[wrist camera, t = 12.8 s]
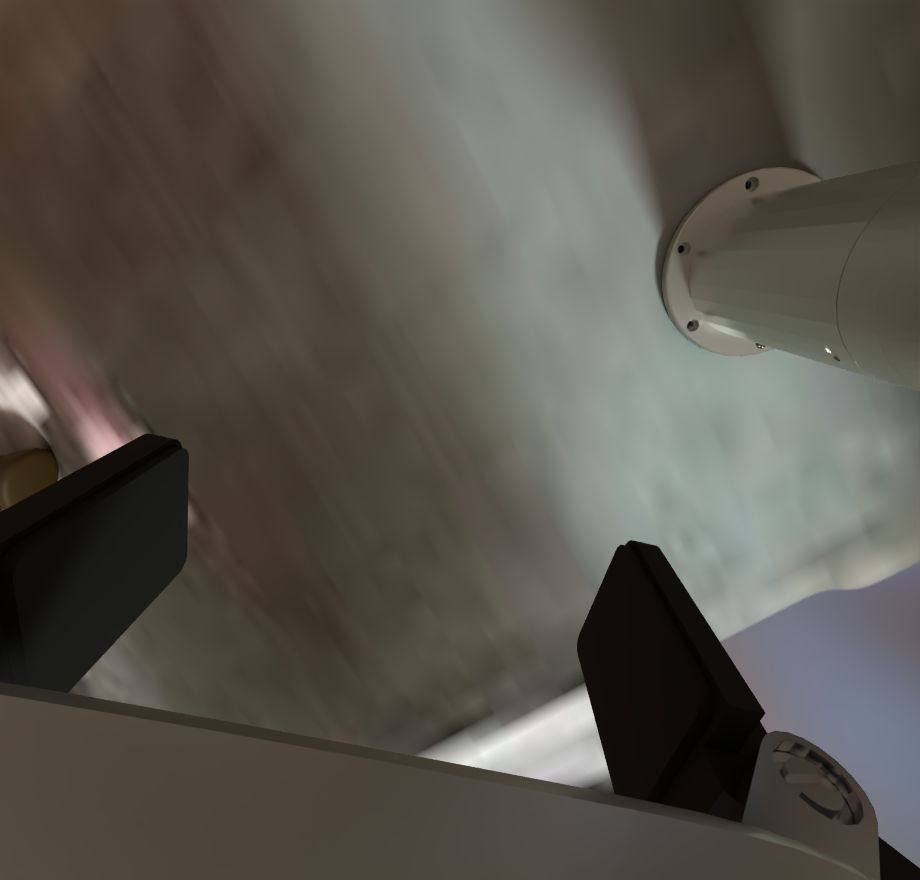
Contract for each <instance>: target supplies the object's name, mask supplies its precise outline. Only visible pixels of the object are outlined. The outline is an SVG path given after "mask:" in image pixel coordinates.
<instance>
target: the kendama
mask: <svg viewBox="0 0 920 880" xmlns="http://www.w3.org/2000/svg"><path fill="white" fill-rule="evenodd" d="M57 481H58V465H57V461H56V457H55V456H54V455H53V454H52V453H51V452H50V451H49V450H47V449H39V448H32V449H28V450H25V451H21V452H18V453H14V454H10V455H6V456H0V506H1V507H3V508H4V509H7V508H9V507H11V506H12V505H14V504H16V503H18V502H20V501H22V500H23V499H25V498H27V497H29V496H31V495H33V494H35V493H36V492H38V491H40V490H42V489H44V488H46V487H48V486H49V485H51V484H53V483H55V482H57ZM1 507H0V512H1V511H2V509H1Z"/></svg>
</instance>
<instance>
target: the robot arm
mask: <svg viewBox="0 0 920 880" xmlns="http://www.w3.org/2000/svg"><path fill="white" fill-rule="evenodd" d="M746 182H747V183H748V188H747V189H746V187H745V185H746ZM679 246H682V251H681V252H680V253H678V247H679ZM662 291H663V298H664V303H665V306H666V309H667V312H668V315H669V317H670V319H671V320H672V322H673V323H674V325H675V327H676V328H677V330H678V331H679V332H680V333H681V334H682V335H683V336H684V337H685V338H686V339H687V340H689V341H691V342H692V343H694V344H695V345H697V346H698V347H701V348H703V349H706V350H708V351H710V352H714V353H718V354H722V355H726V356H747V355H754V354H759V353H762V352H765V351H769V350H772V349H778V350H782V351H785V352H788V353H792V354H795V355H798V356H802V357H805V358H808V359H811V360H815V361H818V362H821V363H825V364H828V365H831V366H835V367H838V368H841V369H845V370H848V371H851V372H854V373H858V374H861V375H864V376H868V377H871V378H874V379H878V380H881V381H884V382H888V383H891V384H895V385H899V386H902V387H906V388H909V389H913V390H917V391H920V160H916V161H912V162H907V163H902V164H898V165H893V166H889V167H884V168H879V169H875V170H870V171H866V172H861V173H856V174H852V175H847V176H843V177H838V178H833V179H829V180H824V181H822V180H821V179H820V178H818V177H817V176H815V175H813V174H810V173H808V172H805V171H803V170H800V169H794V168H788V167H773V168H763V169H759V170H755V171H751V172H748V173H745V174H742V175H739V176H737V177H734V178H731V179H729V180H728V181H726V182H724V183H723V184H721V185H719V186H717V187H716V188H714V189H713V190H711V191H710V192H709V193H708V194H707V195H705V196H704V197H703V198H702V199H701V200H699V201H698V202H697V203H696V205H695V206H694V207H693V208H692V209H691V210H690V211H689V213H688V214H687V215H686V216H685V217H684V219H683V220H682V222H681V224H680V225H679V227H678V228H677V230H676V232H675V233H674V236H673V238H672V240H671V243H670V245H669V247H668V250H667V253H666V257H665V261H664V266H663V274H662ZM689 321H690V322H691V325H690V326H689V327H687V324H688V322H689ZM188 471H189V455H188V451H187V450H186V449H184V448H182V446H181V443H180V442H179V441H178V440H176V439H171V438H167V437H162V436H158V435H153V434H144V435H142V436H140V437H138V438H137V439H135V440H133V441H131V442H129V443H127V444H125V445H124V446H122V447H120V448H118V449H116V450H114V451H112V452H111V453H109V454H107V455H105V456H103V457H101V458H99V459H98V460H96V461H94V462H92V463H90V464H88V465H86V466H85V467H83V468H81V469H79V470H77V471H75V472H74V473H72V474H70V475H68V476H66V477H64V478H62V479H61V480H59V481H57V482H55V483H53V484H51V485H49V486H48V487H46V488H44V489H42V490H40V491H38V492H36V493H35V494H33V495H31V496H29V497H27V498H25V499H23V500H22V501H20V502H18V503H16V504H14V505H12V506H11V507H9V508H7V509H5V510H3V511H1V512H0V880H920V868H919V867H917V866H916V865H915V864H913V863H912V862H911V861H910V860H908V859H907V858H906V857H904V856H903V855H902V854H900V853H899V852H898V851H897V850H895V849H894V848H893V847H891V846H890V845H889V844H887V843H886V842H885V841H884V840H882V839H881V838H880V837H878V822H877V819H876V814H875V811H874V808H873V806H872V804H871V803H870V801H869V799H868V797H867V795H866V793H865V792H864V791H863V789H862V788H861V787H860V785H859V784H858V783H857V782H856V781H855V779H854V778H853V777H852V775H850V774H849V773H848V772H847V771H846V770H845V769H844V768H843V767H842V766H841V765H840V764H839V763H838V762H837V761H836V760H835V759H833V758H832V757H831V756H829V755H828V754H827V753H826V752H824V751H823V750H822V749H820V748H819V747H817V746H816V745H814V744H812V743H810V742H809V741H807V740H805V739H803V738H801V737H799V736H796V735H793V734H791V733H788V732H780V731H774V732H771V733H767V732H766V730H765V729H764V727H763V726H762V724H761V722H760V720H761V718H762V717H763V716H764V714H765V712H764V710H763V709H762V707H761V706H760V704H759V702H758V701H757V699H756V698H755V696H754V695H753V693H752V691H751V690H750V688H749V687H748V685H747V684H746V682H745V680H744V679H743V677H742V676H741V675H740V673H739V671H738V670H737V668H736V666H735V665H734V663H733V662H732V660H731V659H730V657H729V656H728V654H727V653H726V651H725V649H724V648H723V646H722V645H721V643H720V642H719V640H718V638H717V637H716V635H715V634H714V632H713V631H712V629H711V628H710V626H709V624H708V623H707V621H706V620H705V618H704V617H703V615H702V614H701V612H700V610H699V609H698V607H697V606H696V604H695V603H694V601H693V599H692V598H691V596H690V595H689V593H688V592H687V590H686V589H685V587H684V585H683V584H682V582H681V581H680V579H679V578H678V576H677V575H676V573H675V571H674V570H673V568H672V567H671V565H670V564H669V562H668V561H667V559H666V557H665V556H664V554H663V553H662V551H661V550H660V548H659V547H658V546H655V545H651V544H646V543H642V542H637V541H632V540H631V541H628V542H627V543H626V545H620V546H619V547H618V548H617V550H616V551H615V554H614V556H613V558H612V561H611V563H610V565H609V568H608V570H607V572H606V574H605V577H604V579H603V581H602V584H601V586H600V588H599V591H598V593H597V595H596V597H595V600H594V602H593V604H592V607H591V609H590V611H589V613H588V616H587V618H586V620H585V623H584V625H583V627H582V630H581V632H580V634H579V637H578V642H577V652H578V657H579V660H580V664H581V668H582V672H583V676H584V679H585V683H586V687H587V691H588V694H589V698H590V702H591V706H592V710H593V713H594V717H595V721H596V725H597V728H598V732H599V736H600V740H601V744H602V747H603V751H604V755H605V759H606V762H607V766H608V770H609V774H610V777H611V781H612V785H613V789H614V793H615V794H611V793H606V792H601V791H596V790H591V789H585V788H580V787H575V786H570V785H564V784H559V783H554V782H549V781H544V780H538V779H533V778H528V777H523V776H517V775H512V774H507V773H502V772H496V771H491V770H486V769H481V768H475V767H470V766H465V765H460V764H455V763H449V762H444V761H439V760H433V759H428V758H423V757H417V756H412V755H406V754H401V753H396V752H390V751H385V750H379V749H374V748H369V747H363V746H358V745H353V744H347V743H342V742H336V741H331V740H325V739H320V738H315V737H309V736H304V735H298V734H293V733H287V732H282V731H276V730H271V729H266V728H260V727H255V726H249V725H244V724H238V723H233V722H227V721H221V720H216V719H210V718H205V717H199V716H193V715H188V714H182V713H177V712H171V711H165V710H160V709H154V708H149V707H143V706H137V705H132V704H126V703H121V702H115V701H109V700H104V699H98V698H93V697H87V696H81V695H76V694H70V693H68V692H69V691H70V690H71V689H72V688H73V687H74V686H75V685H76V683H77V682H78V681H79V680H80V679H81V678H82V677H83V676H84V675H85V674H86V673H87V672H88V671H89V669H90V668H91V667H92V666H93V665H94V664H95V663H96V662H97V661H98V660H99V659H100V658H101V657H102V655H103V654H104V653H105V652H106V651H107V650H108V649H109V648H110V647H111V646H112V645H113V644H114V643H115V641H116V640H117V639H118V638H119V637H120V636H121V635H122V634H123V633H124V632H125V631H126V630H127V629H128V628H129V626H130V625H131V624H132V623H133V622H134V621H135V620H136V619H137V618H138V617H139V616H140V615H141V614H142V612H143V611H144V610H145V609H146V608H147V607H148V606H149V605H150V604H151V603H152V602H153V601H154V600H155V598H156V597H157V596H158V595H159V594H160V593H161V592H162V591H163V590H164V589H165V588H166V587H167V586H168V584H169V583H170V582H171V581H172V580H173V579H174V578H175V577H176V576H177V575H178V574H179V572H180V571H181V570H182V568H183V566H184V564H185V562H186V558H187V529H188Z"/></svg>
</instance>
